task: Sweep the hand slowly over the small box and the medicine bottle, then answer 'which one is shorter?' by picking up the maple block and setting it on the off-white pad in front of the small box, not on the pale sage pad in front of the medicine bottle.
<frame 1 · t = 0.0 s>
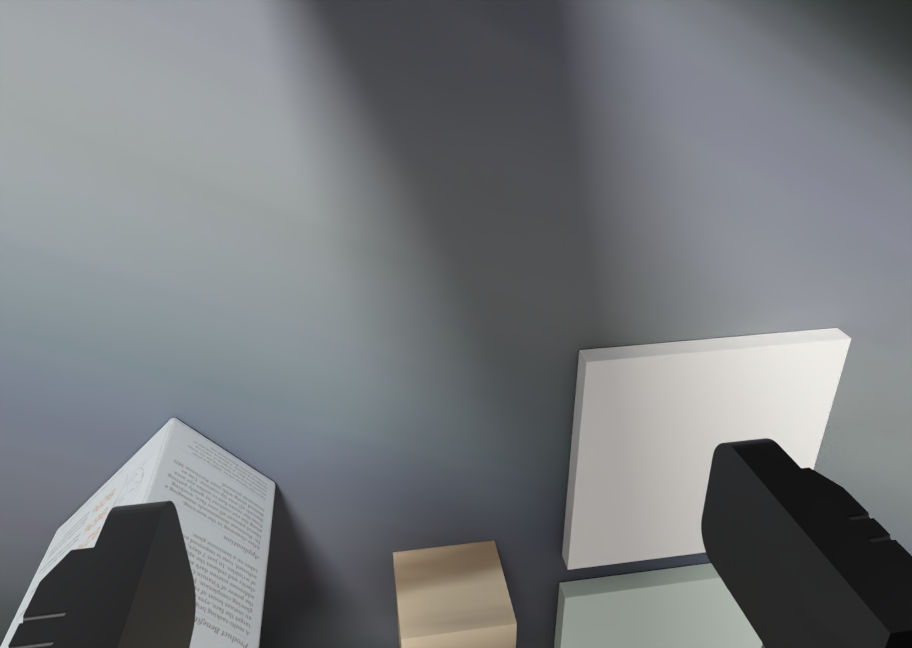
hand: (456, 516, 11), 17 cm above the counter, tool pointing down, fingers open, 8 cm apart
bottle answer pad: (654, 644, 40), on the counter
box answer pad: (691, 448, 34), on the counter
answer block: (444, 581, 36), on the counter
small box: (170, 500, 31), on the counter
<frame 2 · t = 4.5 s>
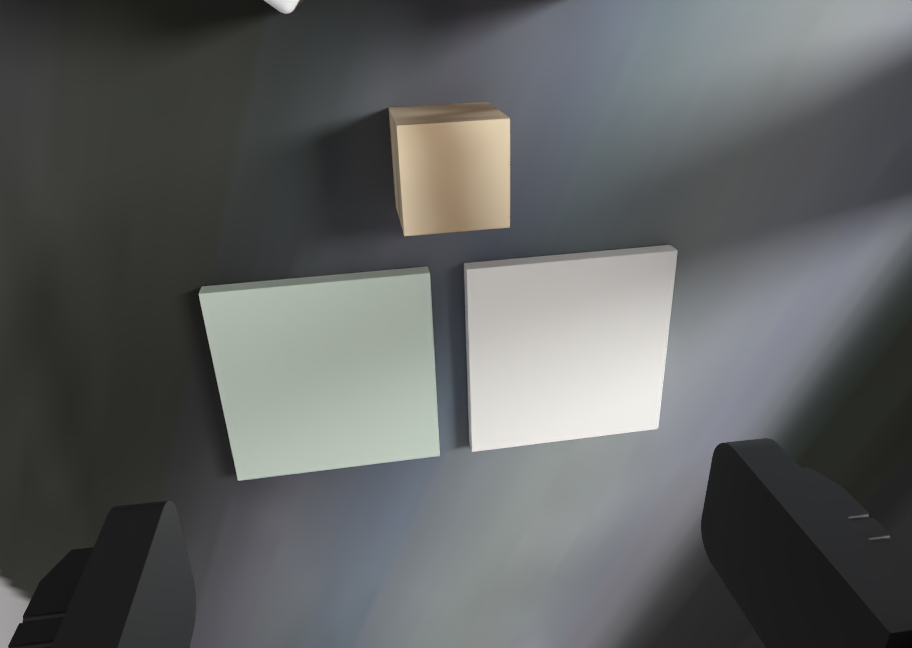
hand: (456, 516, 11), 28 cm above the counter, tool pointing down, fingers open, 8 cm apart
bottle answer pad: (329, 373, 41), on the counter
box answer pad: (565, 347, 42), on the counter
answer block: (440, 154, 36), on the counter
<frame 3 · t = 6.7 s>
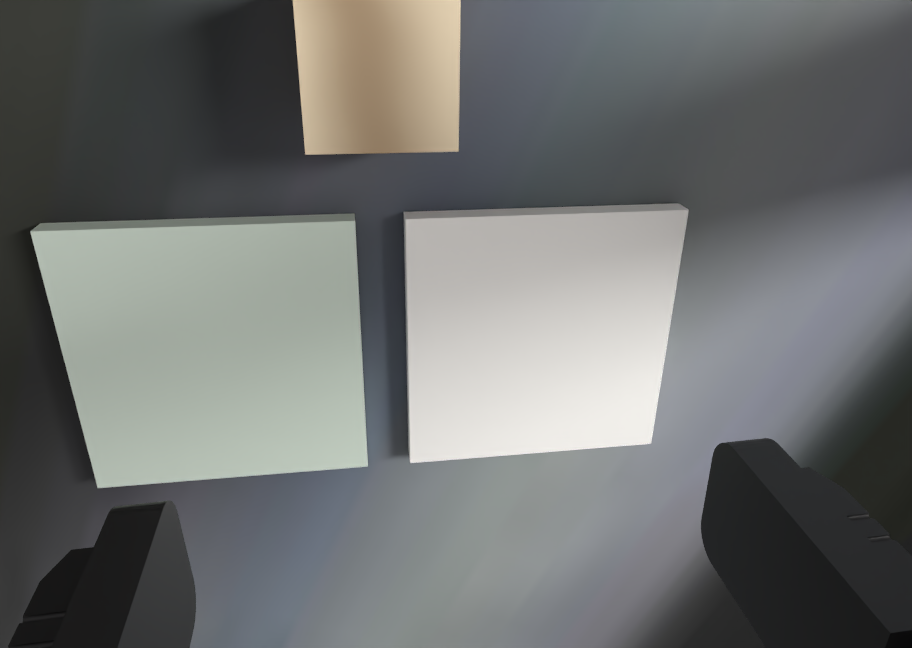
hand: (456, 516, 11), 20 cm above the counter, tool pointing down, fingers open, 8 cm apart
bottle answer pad: (222, 351, 31), on the counter
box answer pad: (536, 333, 33), on the counter
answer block: (373, 56, 26), on the counter
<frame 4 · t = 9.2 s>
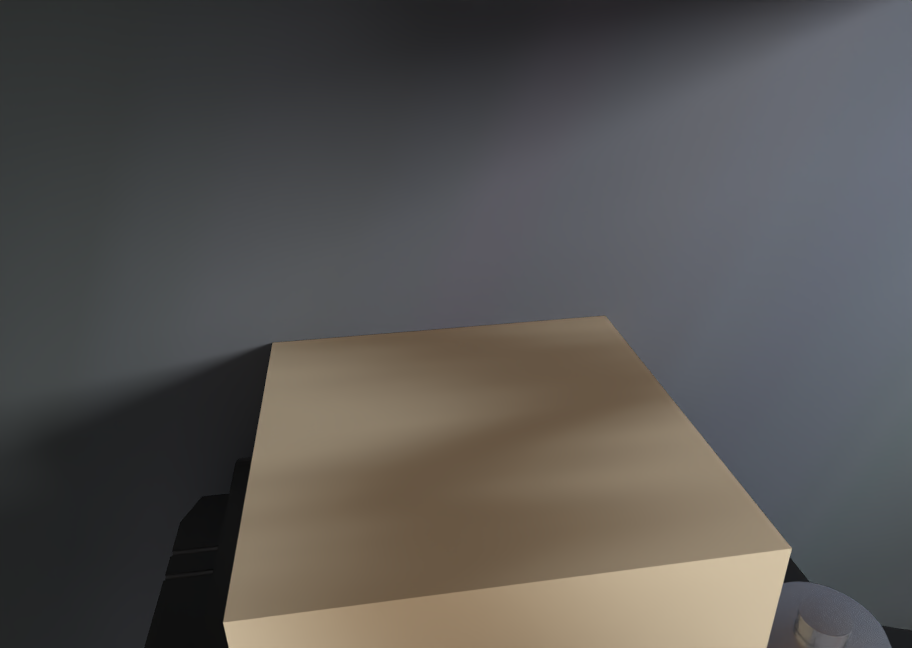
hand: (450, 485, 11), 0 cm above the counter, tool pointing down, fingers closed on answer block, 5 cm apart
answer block: (447, 464, 12), on the counter, touching gripper
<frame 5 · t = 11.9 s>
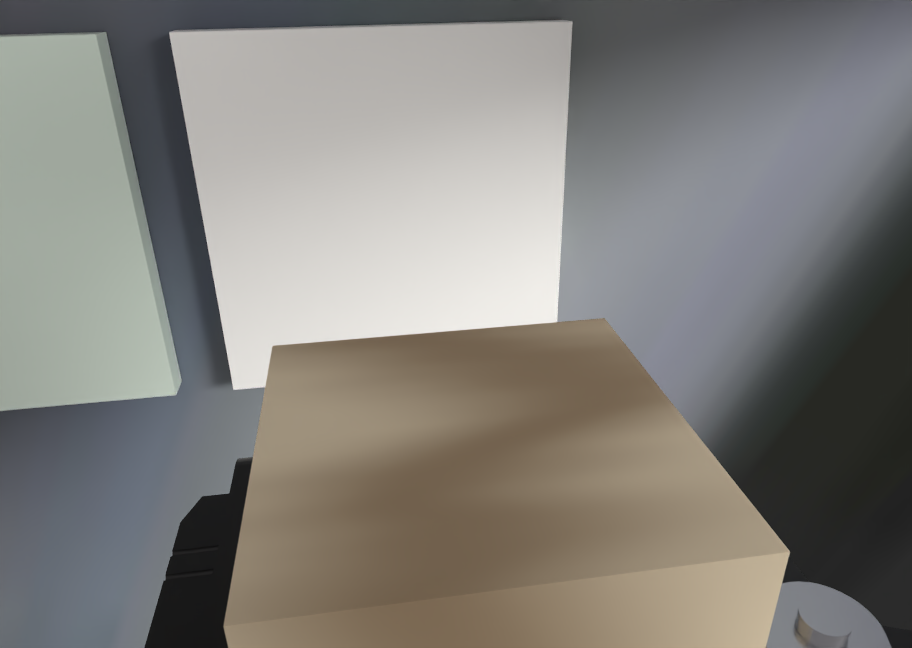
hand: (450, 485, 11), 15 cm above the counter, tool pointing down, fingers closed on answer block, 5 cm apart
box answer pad: (387, 211, 25), on the counter
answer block: (447, 467, 12), point 15 cm above the counter, touching gripper
when the fingers open (3 cm above the counter, at t = 14.9 s): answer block drops 1 cm, resting on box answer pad.
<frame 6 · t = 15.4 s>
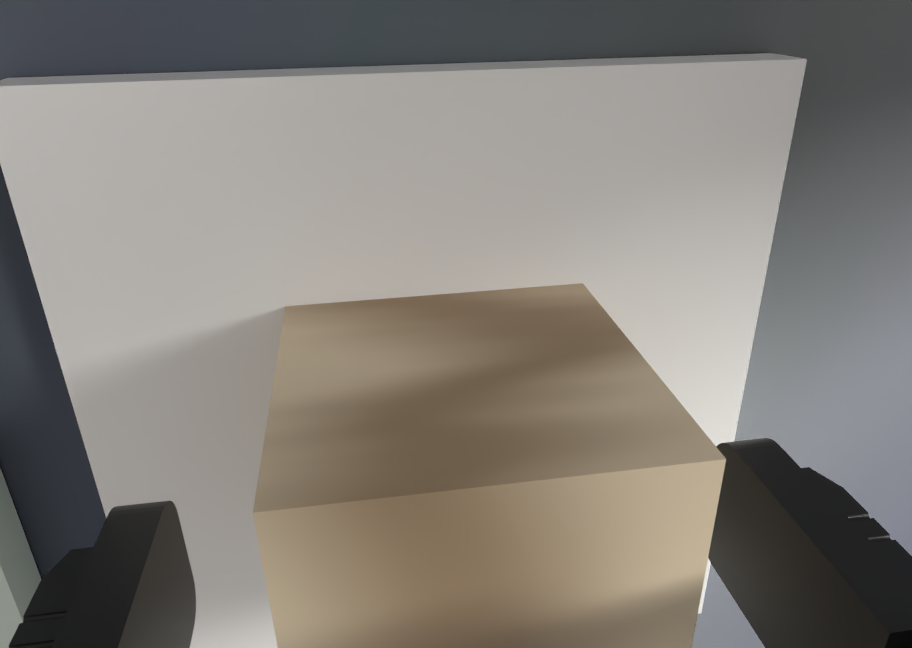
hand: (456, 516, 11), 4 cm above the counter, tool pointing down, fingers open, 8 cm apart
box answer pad: (428, 391, 14), on the counter
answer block: (442, 420, 13), point 1 cm above the counter, touching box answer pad
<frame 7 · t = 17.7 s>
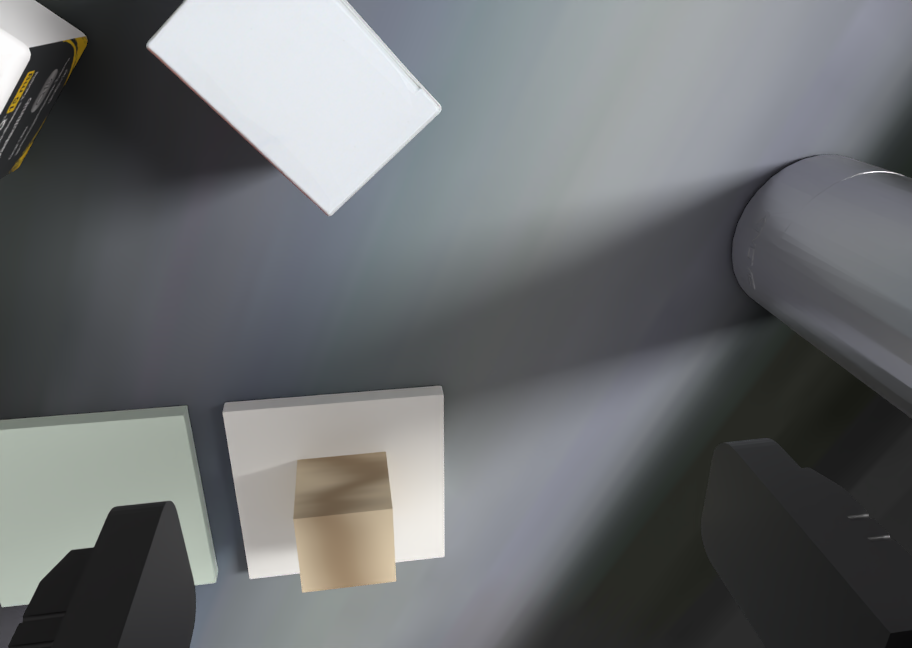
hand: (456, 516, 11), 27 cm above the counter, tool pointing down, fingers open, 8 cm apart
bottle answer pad: (94, 503, 40), on the counter
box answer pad: (342, 479, 42), on the counter
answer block: (344, 490, 41), point 1 cm above the counter, touching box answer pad
small box: (307, 50, 32), on the counter
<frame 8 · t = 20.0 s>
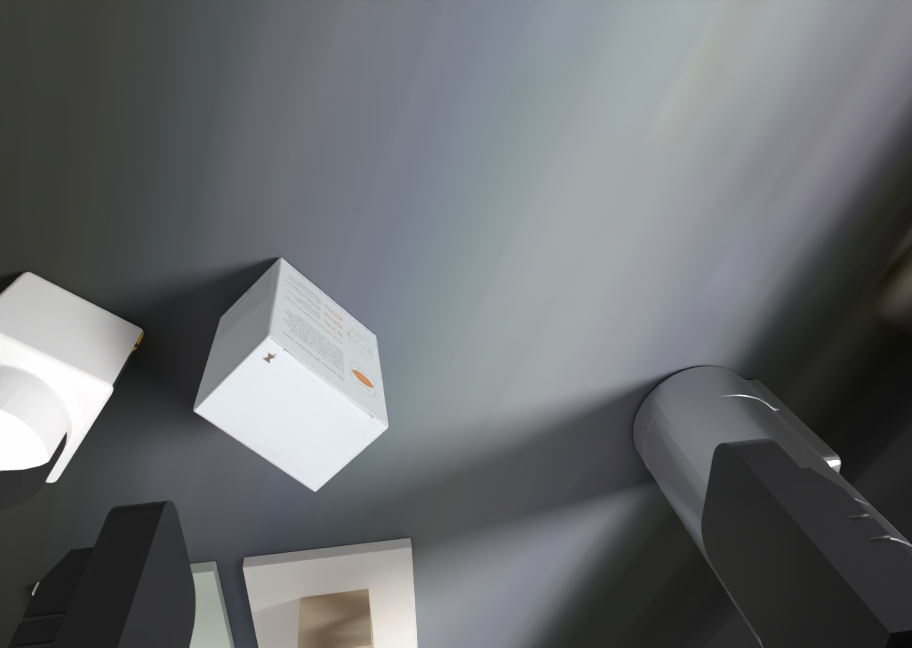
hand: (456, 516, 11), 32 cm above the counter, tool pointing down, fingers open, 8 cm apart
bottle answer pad: (145, 631, 52), on the counter
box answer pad: (336, 606, 54), on the counter
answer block: (337, 617, 53), point 1 cm above the counter, touching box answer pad
medicine bottle: (62, 343, 42), on the counter
small box: (301, 324, 44), on the counter
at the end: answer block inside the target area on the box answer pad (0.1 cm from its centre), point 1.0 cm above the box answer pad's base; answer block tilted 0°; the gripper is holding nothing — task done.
